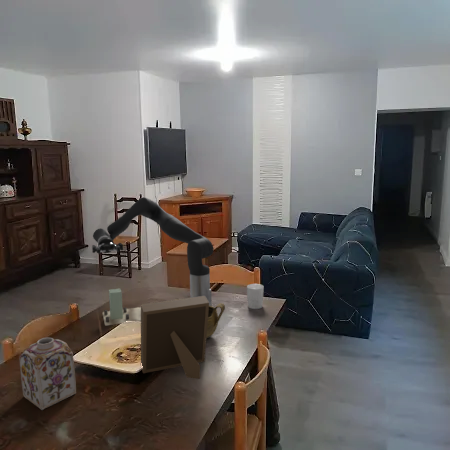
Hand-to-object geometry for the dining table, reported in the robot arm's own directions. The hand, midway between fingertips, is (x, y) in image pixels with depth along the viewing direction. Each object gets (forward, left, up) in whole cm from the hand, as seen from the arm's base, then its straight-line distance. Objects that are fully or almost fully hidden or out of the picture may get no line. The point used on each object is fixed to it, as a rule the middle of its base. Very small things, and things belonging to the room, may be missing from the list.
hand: (109, 251), depth 201 cm
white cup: (-64, +24, -28) cm, 74 cm away
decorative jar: (+25, +70, -28) cm, 80 cm away
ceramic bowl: (-29, +47, -28) cm, 62 cm away
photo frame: (-15, +70, -28) cm, 77 cm away
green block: (0, +17, -26) cm, 31 cm away
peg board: (-7, +17, -28) cm, 33 cm away
